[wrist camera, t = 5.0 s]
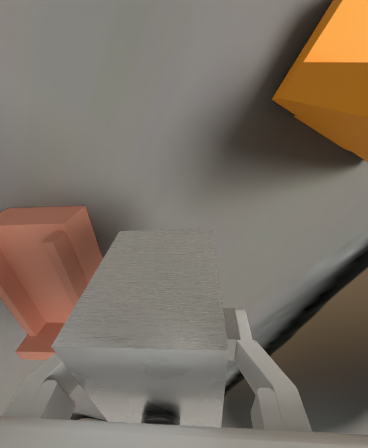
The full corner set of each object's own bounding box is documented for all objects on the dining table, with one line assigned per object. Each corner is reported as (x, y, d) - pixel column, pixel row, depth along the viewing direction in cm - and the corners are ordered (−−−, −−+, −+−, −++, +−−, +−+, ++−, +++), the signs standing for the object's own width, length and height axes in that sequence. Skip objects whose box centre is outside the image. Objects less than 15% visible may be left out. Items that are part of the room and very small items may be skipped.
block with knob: (119, 231, 11) (41, 362, 5) (212, 228, 10) (230, 368, 5) (144, 320, 15) (114, 445, 10) (211, 321, 15) (220, 452, 9)
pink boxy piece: (7, 208, 22) (-72, 249, 16) (85, 205, 22) (36, 247, 15) (60, 304, 30) (21, 359, 24) (118, 305, 29) (95, 361, 23)
